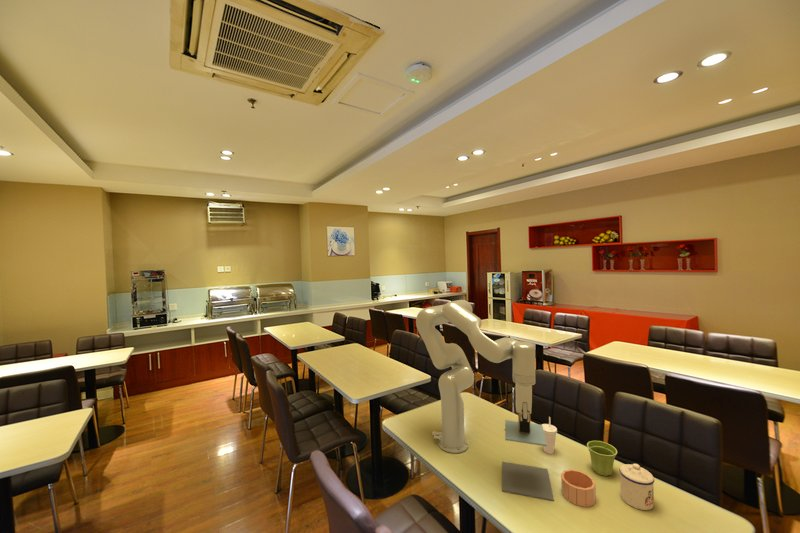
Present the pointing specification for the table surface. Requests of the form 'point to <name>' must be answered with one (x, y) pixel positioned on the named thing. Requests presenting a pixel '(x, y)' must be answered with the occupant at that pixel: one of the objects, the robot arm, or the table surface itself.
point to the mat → (526, 481)
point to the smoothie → (549, 437)
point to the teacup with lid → (637, 486)
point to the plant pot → (602, 457)
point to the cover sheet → (520, 437)
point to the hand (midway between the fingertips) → (524, 428)
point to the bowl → (578, 488)
